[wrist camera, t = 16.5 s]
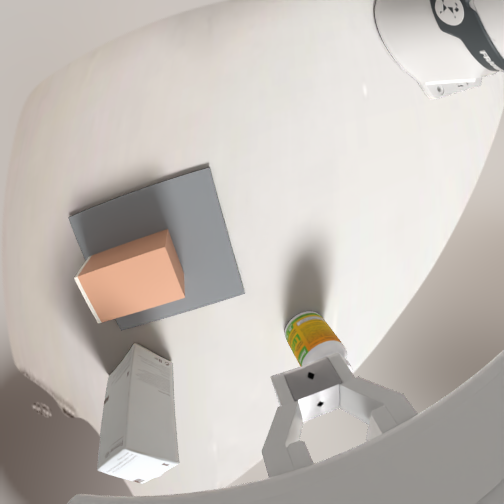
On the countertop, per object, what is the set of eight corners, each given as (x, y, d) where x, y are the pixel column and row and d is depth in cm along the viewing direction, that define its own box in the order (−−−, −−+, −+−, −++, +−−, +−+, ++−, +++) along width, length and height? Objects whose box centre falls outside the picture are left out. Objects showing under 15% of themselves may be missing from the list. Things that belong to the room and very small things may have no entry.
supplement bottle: (281, 316, 35) (312, 370, 26) (322, 304, 36) (360, 352, 27) (285, 348, 37) (312, 401, 28) (322, 336, 38) (356, 384, 29)
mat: (208, 167, 27) (209, 167, 26) (244, 291, 32) (244, 293, 32) (69, 216, 25) (68, 217, 24) (121, 328, 30) (121, 330, 30)
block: (165, 246, 23) (73, 277, 22) (185, 297, 25) (98, 323, 24) (167, 228, 27) (88, 256, 26) (184, 273, 29) (108, 297, 28)
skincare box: (134, 340, 31) (122, 445, 18) (176, 362, 34) (183, 464, 20) (107, 377, 33) (93, 471, 19) (145, 396, 35) (144, 487, 22)
